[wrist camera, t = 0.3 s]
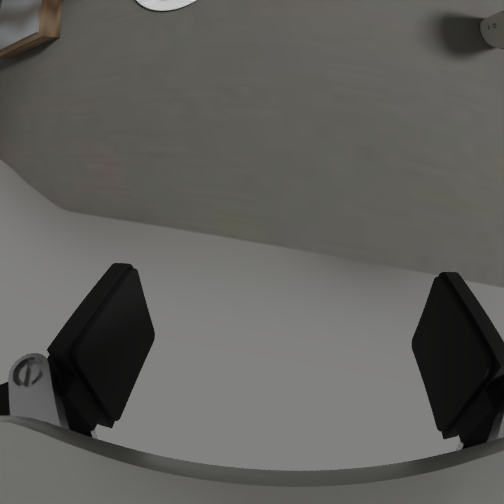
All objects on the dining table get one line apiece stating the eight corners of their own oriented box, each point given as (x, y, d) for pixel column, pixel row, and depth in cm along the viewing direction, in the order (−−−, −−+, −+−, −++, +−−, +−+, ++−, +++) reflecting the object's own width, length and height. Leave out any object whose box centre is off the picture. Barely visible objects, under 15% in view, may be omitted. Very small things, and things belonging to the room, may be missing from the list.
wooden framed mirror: (16, -1, 24) (-1, -3, 20) (66, -27, 24) (49, -32, 20) (11, 57, 30) (-8, 59, 26) (59, 37, 29) (40, 36, 26)
